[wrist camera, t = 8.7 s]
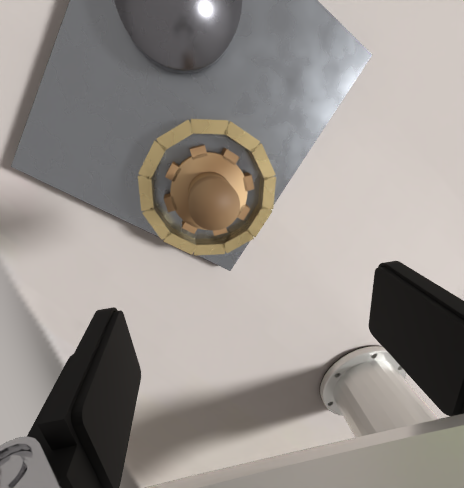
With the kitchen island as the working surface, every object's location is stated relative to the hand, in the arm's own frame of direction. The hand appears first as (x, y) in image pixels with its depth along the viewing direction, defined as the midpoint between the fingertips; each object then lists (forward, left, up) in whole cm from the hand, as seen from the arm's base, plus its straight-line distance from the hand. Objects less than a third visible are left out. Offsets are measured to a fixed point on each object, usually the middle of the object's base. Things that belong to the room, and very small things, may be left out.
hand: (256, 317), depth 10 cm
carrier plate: (+5, -6, -18) cm, 19 cm away
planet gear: (+1, -1, -16) cm, 16 cm away
